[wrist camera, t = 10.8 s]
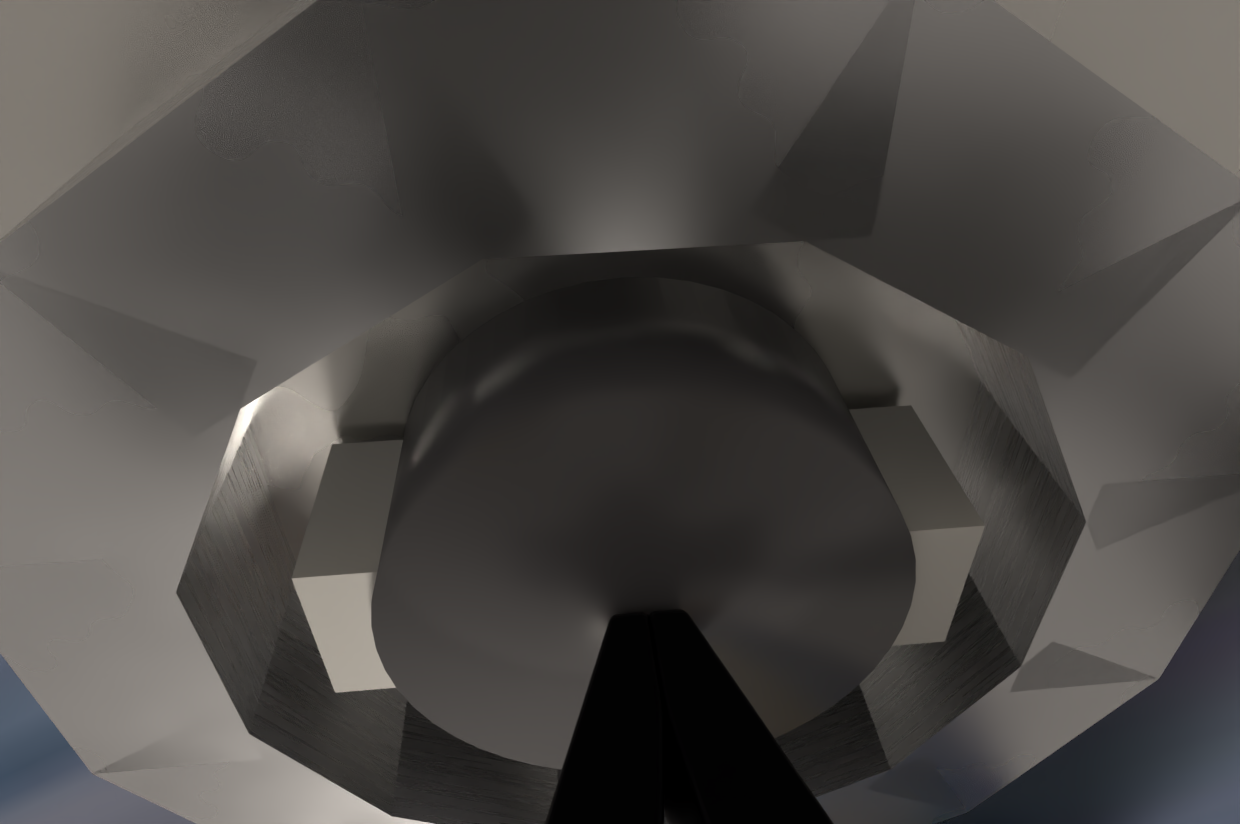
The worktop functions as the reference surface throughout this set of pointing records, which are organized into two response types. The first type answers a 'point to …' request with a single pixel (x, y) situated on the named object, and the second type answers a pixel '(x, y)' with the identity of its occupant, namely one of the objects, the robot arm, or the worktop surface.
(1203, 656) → the worktop surface
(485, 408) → the cap
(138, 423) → the grey faceted ring
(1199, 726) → the worktop surface
